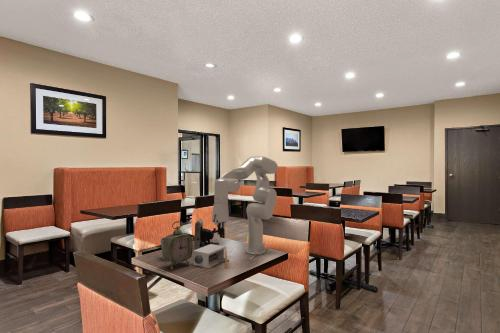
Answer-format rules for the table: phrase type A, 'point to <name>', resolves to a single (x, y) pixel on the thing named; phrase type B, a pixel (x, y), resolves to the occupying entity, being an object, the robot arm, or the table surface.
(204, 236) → the vintage camera
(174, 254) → the tabletop clock
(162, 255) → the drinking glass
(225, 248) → the side door
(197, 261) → the camera housing
